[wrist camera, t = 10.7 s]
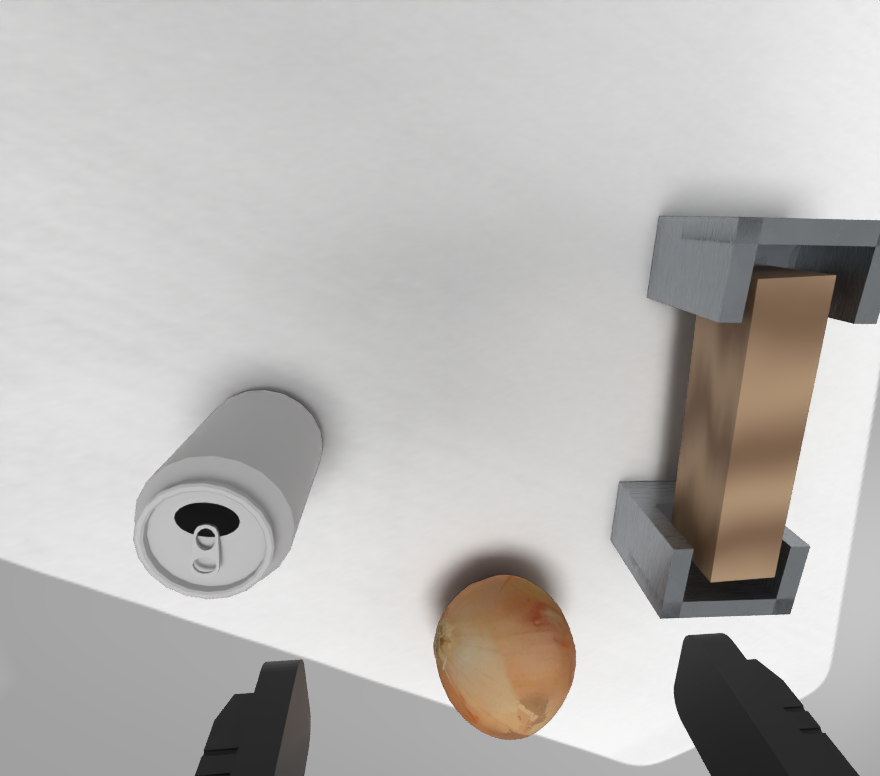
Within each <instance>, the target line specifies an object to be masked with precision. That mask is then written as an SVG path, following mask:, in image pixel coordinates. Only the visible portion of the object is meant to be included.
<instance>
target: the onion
mask: <svg viewBox="0 0 880 776" xmlns="http://www.w3.org/2000/svg"><path fill="white" fill-rule="evenodd" d="M433 648H434V655H435V658H436V664H437V668H438V672H439V677H440V679H441V682H442V685H443V687H444V689H445V692H446V694H447V696H448V698H449V700H450V702H451V703H452V704H453V706H454V707H455V708H456V710H457V711H458V712H459V713H460V714H461V715H462V717H463V718H464V719H465V720H466V721H468V722H469V723H470V724H471V725H473V726H474V727H475V728H477V729H478V730H480V731H482V732H483V733H485V734H488V735H490V736H492V737H495V738H499V739H505V740H516V739H522V738H525V737H528V736H530V735H532V734H534V733H536V732H537V731H539V730H540V729H541V728H543V727H544V726H545V725H546V724H547V723H548V722H549V721H550V720H551V719H552V718H553V717H554V715H555V714H556V713H557V711H558V710H559V708H560V707H561V706H562V704H563V702H564V700H565V698H566V696H567V694H568V692H569V690H570V688H571V685H572V682H573V678H574V672H575V667H576V650H575V645H574V642H573V637H572V634H571V631H570V628H569V626H568V624H567V621H566V619H565V617H564V615H563V613H562V611H561V609H560V608H559V606H558V605H557V603H556V602H555V601H554V600H553V599H552V598H551V597H550V596H549V595H548V594H547V593H546V592H545V591H544V590H542V589H541V588H540V587H538V586H537V585H535V584H534V583H532V582H530V581H529V580H527V579H524V578H522V577H518V576H512V575H496V576H492V577H489V578H486V579H484V580H481V581H478V582H475V583H472V584H470V585H468V586H467V587H466V588H465V589H464V590H462V591H461V592H460V593H459V594H458V595H457V596H456V597H455V598H454V599H453V600H452V601H451V602H450V604H449V605H448V607H447V608H446V610H445V611H444V613H443V615H442V617H441V619H440V621H439V623H438V626H437V630H436V634H435V639H434V646H433Z"/></svg>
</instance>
